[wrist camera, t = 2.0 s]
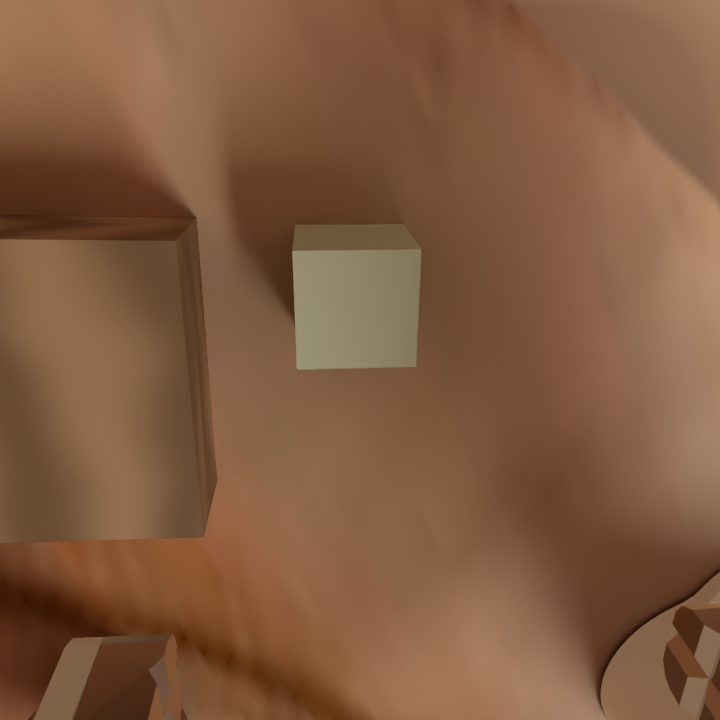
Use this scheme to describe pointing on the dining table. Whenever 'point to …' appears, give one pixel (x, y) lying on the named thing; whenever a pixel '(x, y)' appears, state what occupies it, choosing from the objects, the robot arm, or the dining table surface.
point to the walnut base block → (103, 380)
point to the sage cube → (356, 296)
